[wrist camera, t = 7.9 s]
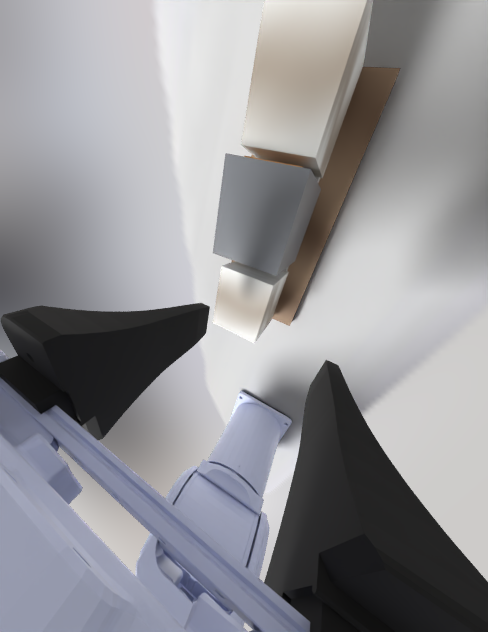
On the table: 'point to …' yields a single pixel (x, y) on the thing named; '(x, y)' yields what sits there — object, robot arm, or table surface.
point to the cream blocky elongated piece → (304, 137)
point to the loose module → (264, 212)
